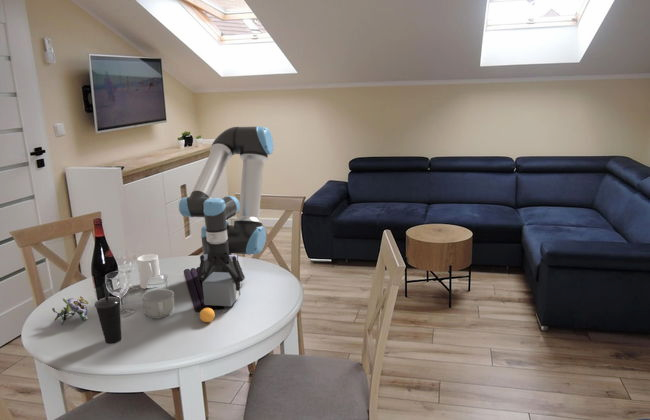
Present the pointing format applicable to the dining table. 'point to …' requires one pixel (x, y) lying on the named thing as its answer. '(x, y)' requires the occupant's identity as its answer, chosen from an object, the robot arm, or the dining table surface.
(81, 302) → the passion flower
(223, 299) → the grey matte cube
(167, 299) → the teacup
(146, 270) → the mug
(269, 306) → the dining table surface
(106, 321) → the drinking cup
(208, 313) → the ball
